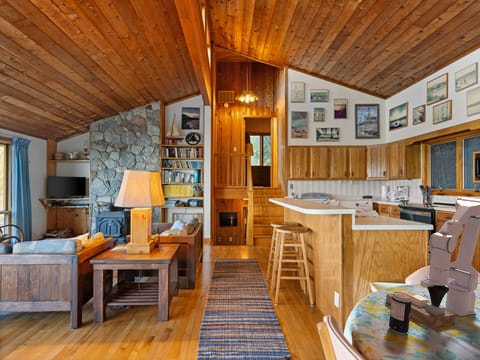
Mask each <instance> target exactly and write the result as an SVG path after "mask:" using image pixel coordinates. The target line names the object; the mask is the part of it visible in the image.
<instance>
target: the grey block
mask: <svg viewBox="0 0 480 360" xmlns="http://www.w3.org/2000/svg"><path fill="white" fill-rule="evenodd" d="M441 305H442V304H440V306H439V307H436V306H434V305H432V304H431V303H426V308H425V310H426V311H428V312H430V313H432V314H434V315H436V316H438V315H444V310H445V307H443V306H441Z"/></svg>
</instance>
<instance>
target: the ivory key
mask: <svg viewBox="0 0 480 360" xmlns="http://www.w3.org/2000/svg"><path fill="white" fill-rule="evenodd" d="M411 301H412V303H413V304H415V305H417V306H419V307H426V303H428V302H430V299H428V298H426V297H424V296H422V295H420V294H415V295H414V296H411Z"/></svg>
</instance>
